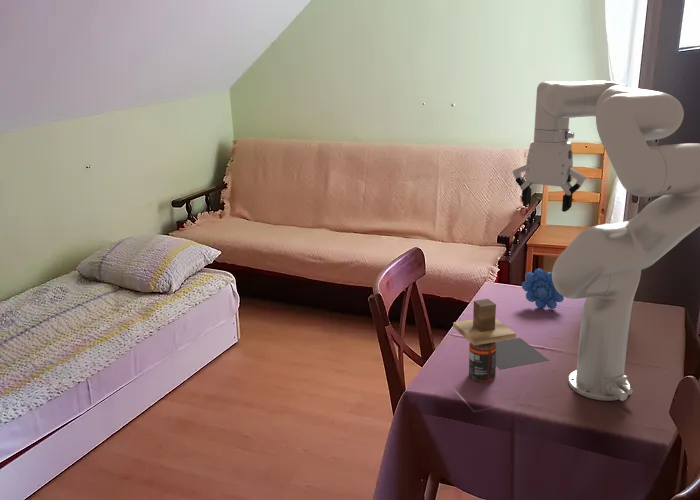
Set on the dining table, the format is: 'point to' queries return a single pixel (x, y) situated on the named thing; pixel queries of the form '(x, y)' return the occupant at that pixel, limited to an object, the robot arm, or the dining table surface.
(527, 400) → the dining table surface
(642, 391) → the dining table surface
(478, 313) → the oak lid
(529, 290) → the blue flower shape
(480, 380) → the supplement bottle
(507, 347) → the dark gray mat
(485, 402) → the dining table surface
